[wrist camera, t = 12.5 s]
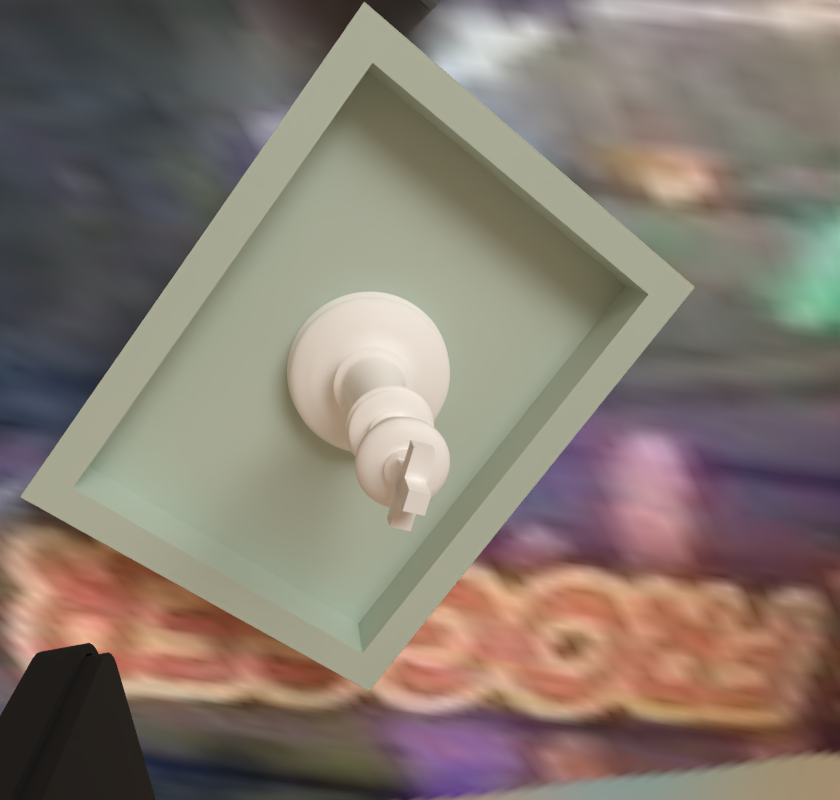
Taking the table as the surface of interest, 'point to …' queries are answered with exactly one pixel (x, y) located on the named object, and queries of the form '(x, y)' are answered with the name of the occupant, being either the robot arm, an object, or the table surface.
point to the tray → (316, 286)
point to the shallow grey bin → (430, 3)
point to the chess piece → (376, 395)
